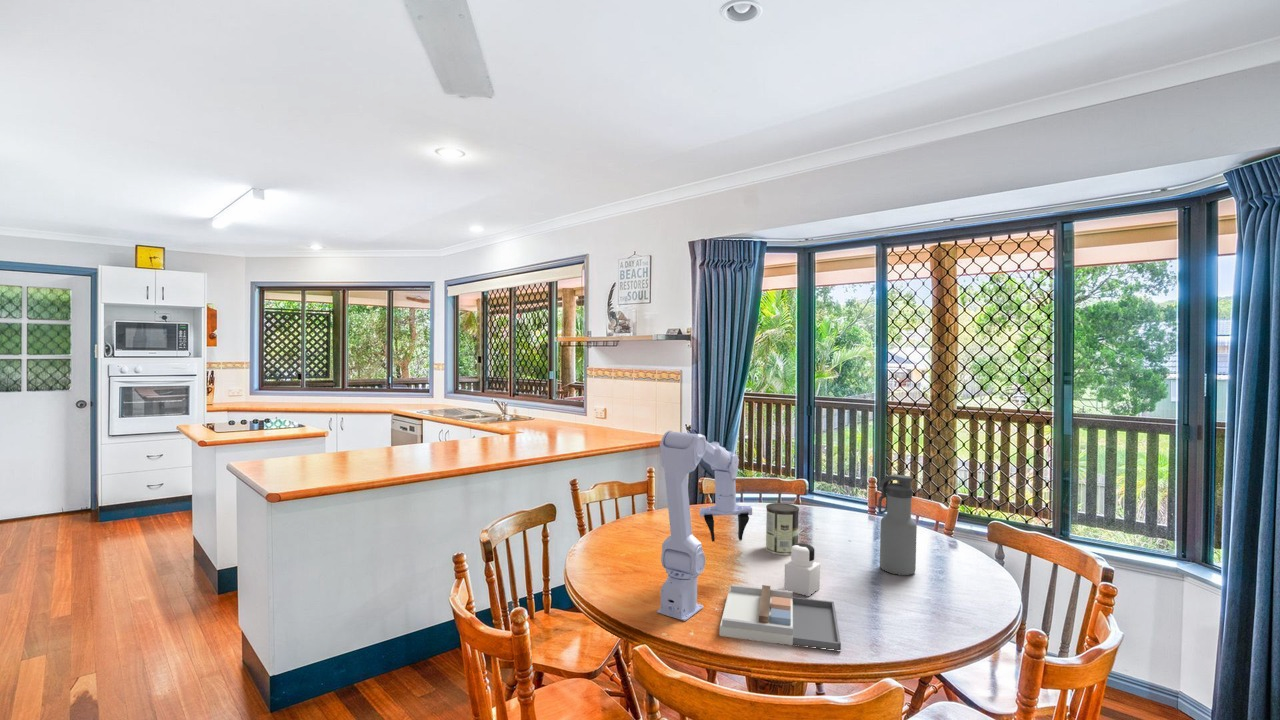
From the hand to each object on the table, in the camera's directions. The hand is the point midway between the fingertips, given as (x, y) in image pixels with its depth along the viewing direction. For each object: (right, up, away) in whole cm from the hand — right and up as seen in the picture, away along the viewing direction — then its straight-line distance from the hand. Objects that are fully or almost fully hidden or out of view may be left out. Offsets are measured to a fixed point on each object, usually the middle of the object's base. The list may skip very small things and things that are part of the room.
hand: (726, 539), depth 169 cm
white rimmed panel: (+4, -11, -26) cm, 28 cm away
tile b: (+8, -10, -30) cm, 33 cm away
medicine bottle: (+19, -11, -7) cm, 24 cm away
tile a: (+10, -9, -23) cm, 27 cm away
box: (+16, -12, -29) cm, 35 cm away
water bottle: (+52, -12, +8) cm, 53 cm away
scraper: (+5, -9, -26) cm, 28 cm away
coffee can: (+21, -11, +24) cm, 34 cm away
